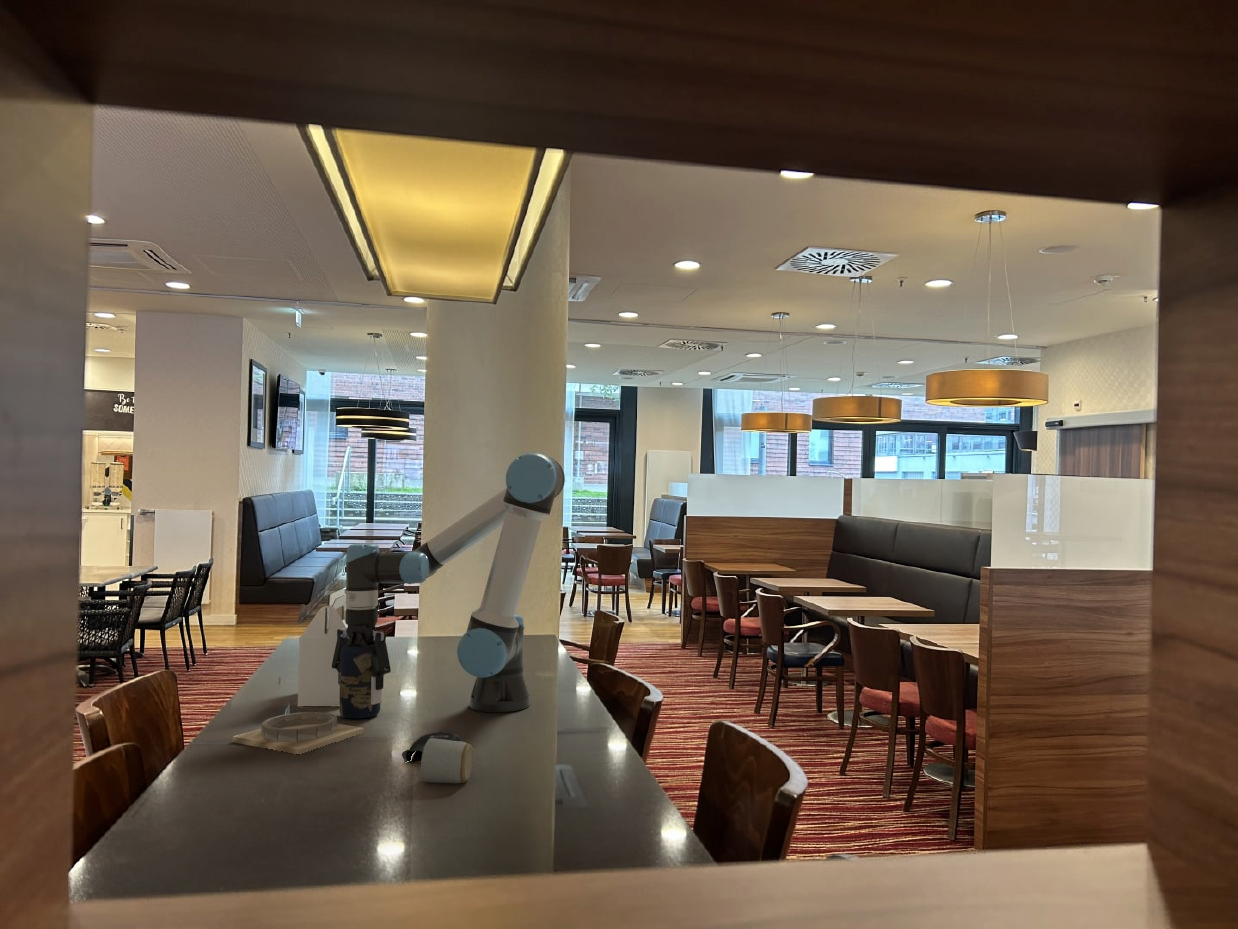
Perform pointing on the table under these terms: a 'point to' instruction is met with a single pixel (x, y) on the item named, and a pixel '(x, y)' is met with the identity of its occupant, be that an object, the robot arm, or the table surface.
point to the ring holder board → (297, 745)
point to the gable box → (321, 654)
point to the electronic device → (422, 741)
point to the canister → (356, 682)
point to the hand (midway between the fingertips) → (360, 701)
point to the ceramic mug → (446, 761)
